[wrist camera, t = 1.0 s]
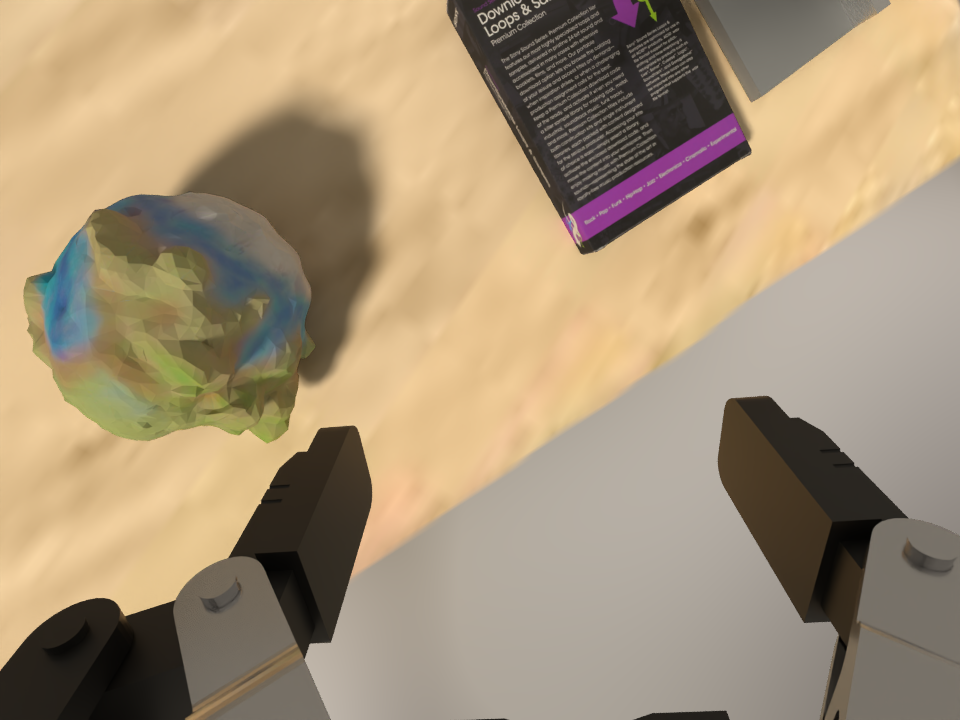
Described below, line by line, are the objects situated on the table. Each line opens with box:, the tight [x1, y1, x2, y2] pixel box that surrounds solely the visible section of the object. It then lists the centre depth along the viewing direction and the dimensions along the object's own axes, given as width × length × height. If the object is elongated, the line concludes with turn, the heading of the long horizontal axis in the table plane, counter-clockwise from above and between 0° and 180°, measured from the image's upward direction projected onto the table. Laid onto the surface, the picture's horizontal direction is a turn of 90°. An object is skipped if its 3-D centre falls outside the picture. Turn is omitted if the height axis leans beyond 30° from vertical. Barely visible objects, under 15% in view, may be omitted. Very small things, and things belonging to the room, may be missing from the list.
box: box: [447, 0, 751, 255], centre depth 36 cm, size 14×4×20 cm
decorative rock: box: [24, 192, 316, 443], centre depth 30 cm, size 14×16×15 cm
